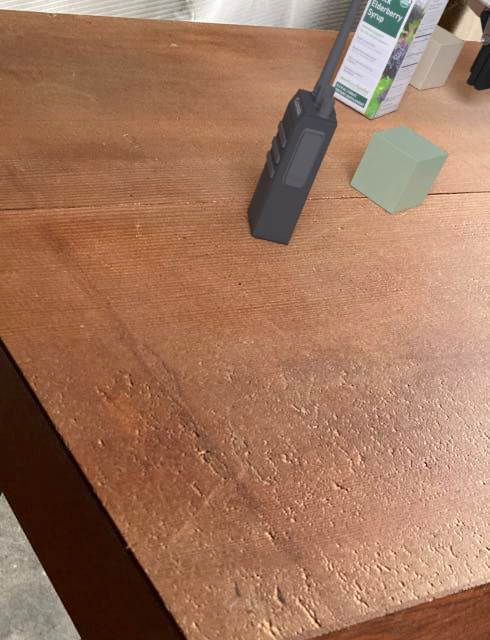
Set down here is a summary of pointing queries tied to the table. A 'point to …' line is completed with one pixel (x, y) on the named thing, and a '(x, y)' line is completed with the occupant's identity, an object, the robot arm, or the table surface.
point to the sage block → (398, 169)
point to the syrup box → (385, 53)
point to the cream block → (437, 60)
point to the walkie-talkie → (298, 150)
